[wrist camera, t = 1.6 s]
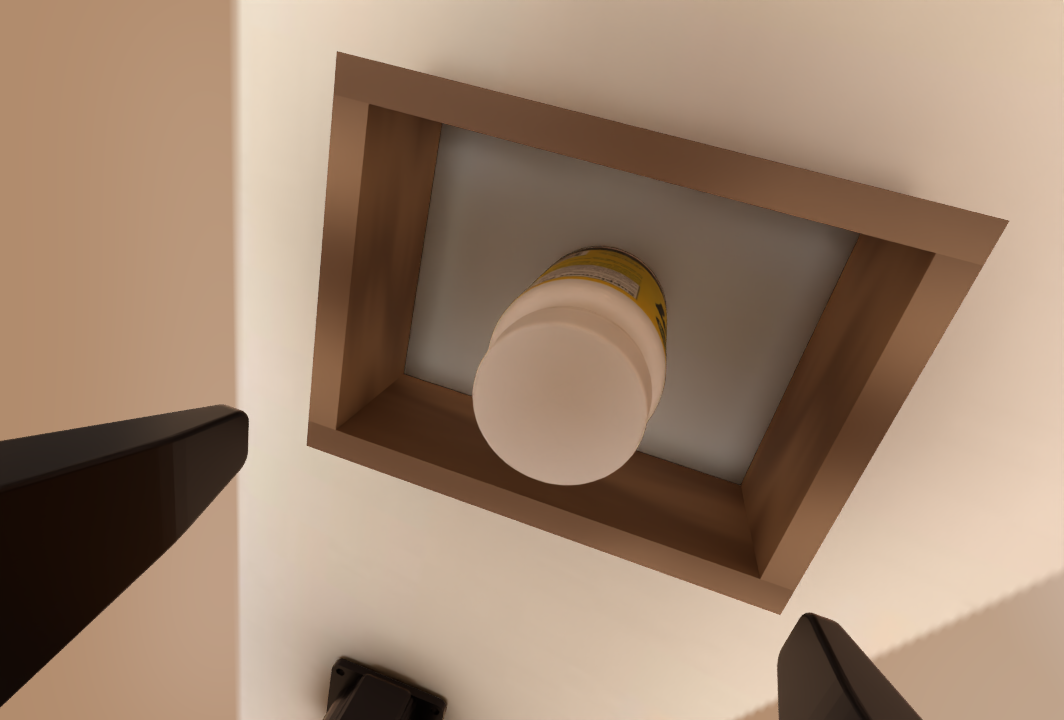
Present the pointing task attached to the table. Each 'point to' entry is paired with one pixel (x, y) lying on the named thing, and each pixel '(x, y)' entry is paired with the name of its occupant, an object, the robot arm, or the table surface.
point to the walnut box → (643, 481)
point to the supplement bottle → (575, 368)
